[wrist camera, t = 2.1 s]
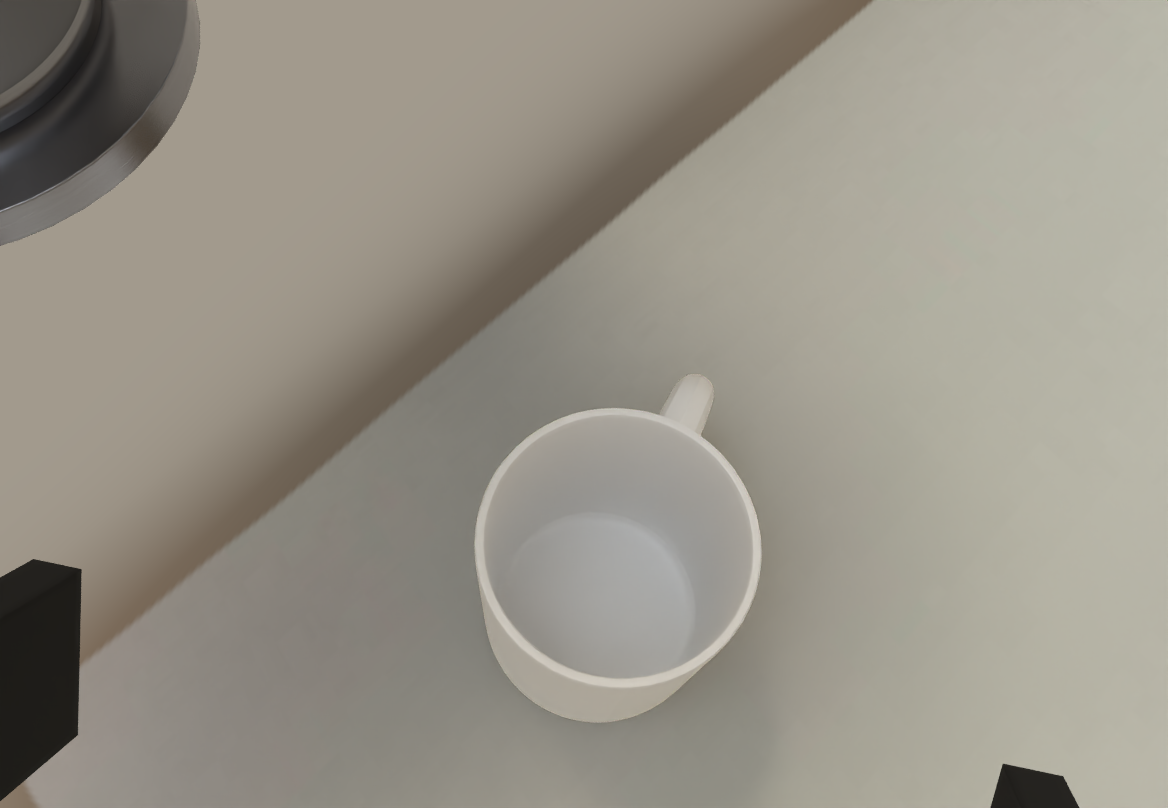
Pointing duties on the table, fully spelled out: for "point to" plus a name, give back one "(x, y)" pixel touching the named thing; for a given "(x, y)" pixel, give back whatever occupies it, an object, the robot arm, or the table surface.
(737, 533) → the mug
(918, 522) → the table surface
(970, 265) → the table surface
